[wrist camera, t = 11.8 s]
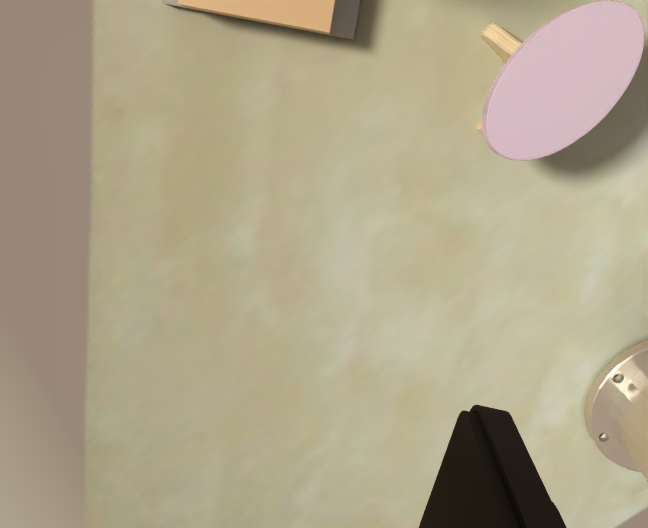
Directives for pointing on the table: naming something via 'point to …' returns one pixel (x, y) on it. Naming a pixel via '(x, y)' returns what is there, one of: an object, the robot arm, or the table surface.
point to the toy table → (560, 78)
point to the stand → (286, 13)
